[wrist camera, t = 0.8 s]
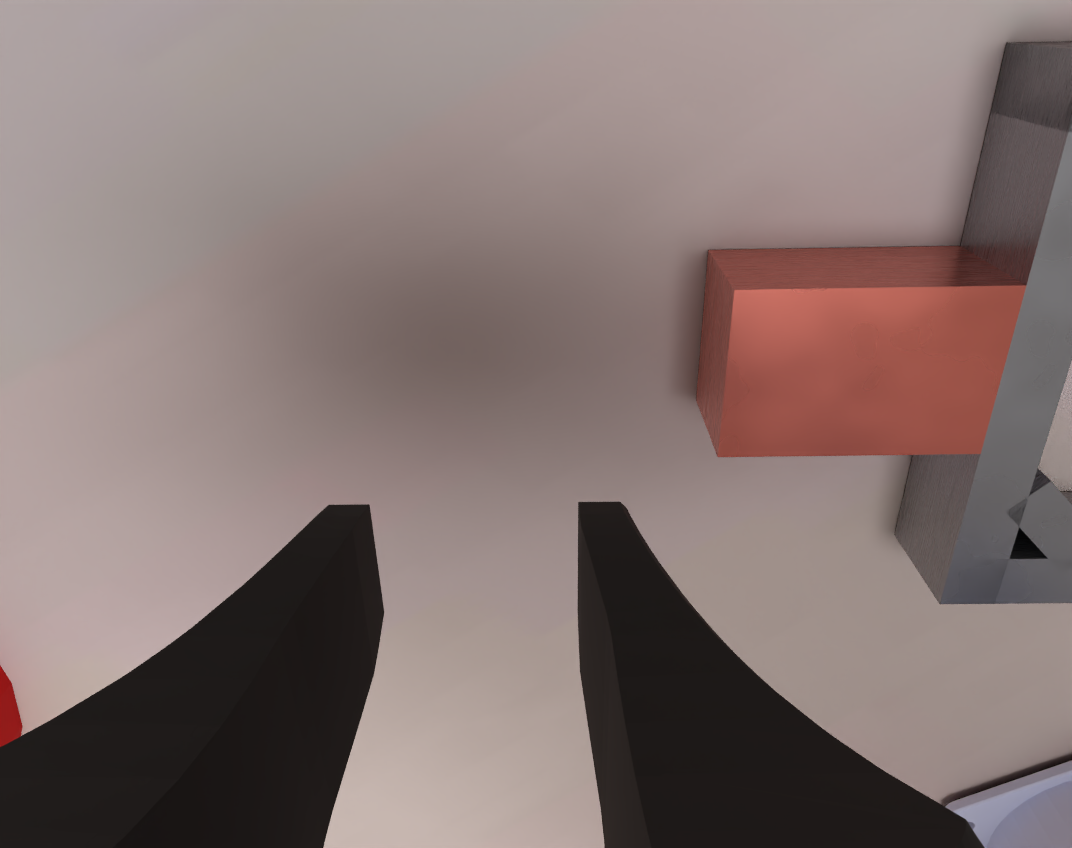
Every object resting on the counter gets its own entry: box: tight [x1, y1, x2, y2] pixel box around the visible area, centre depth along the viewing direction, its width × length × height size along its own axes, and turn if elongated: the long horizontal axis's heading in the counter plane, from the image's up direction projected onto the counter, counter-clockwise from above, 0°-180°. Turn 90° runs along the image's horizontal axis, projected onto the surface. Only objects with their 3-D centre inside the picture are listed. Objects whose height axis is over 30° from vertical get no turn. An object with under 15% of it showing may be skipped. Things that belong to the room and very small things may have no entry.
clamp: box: [696, 41, 1072, 604], centre depth 19 cm, size 15×13×3 cm
